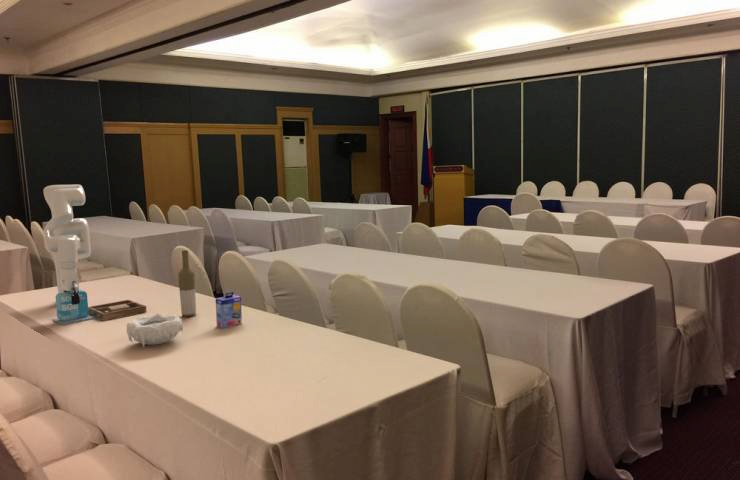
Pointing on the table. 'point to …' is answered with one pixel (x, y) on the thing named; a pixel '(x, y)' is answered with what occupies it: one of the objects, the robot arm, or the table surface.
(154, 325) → the bowl
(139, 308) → the rack
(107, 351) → the table surface
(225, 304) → the ink cartridge box
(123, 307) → the offcut stack
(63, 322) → the mat
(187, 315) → the bottle
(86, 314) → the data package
